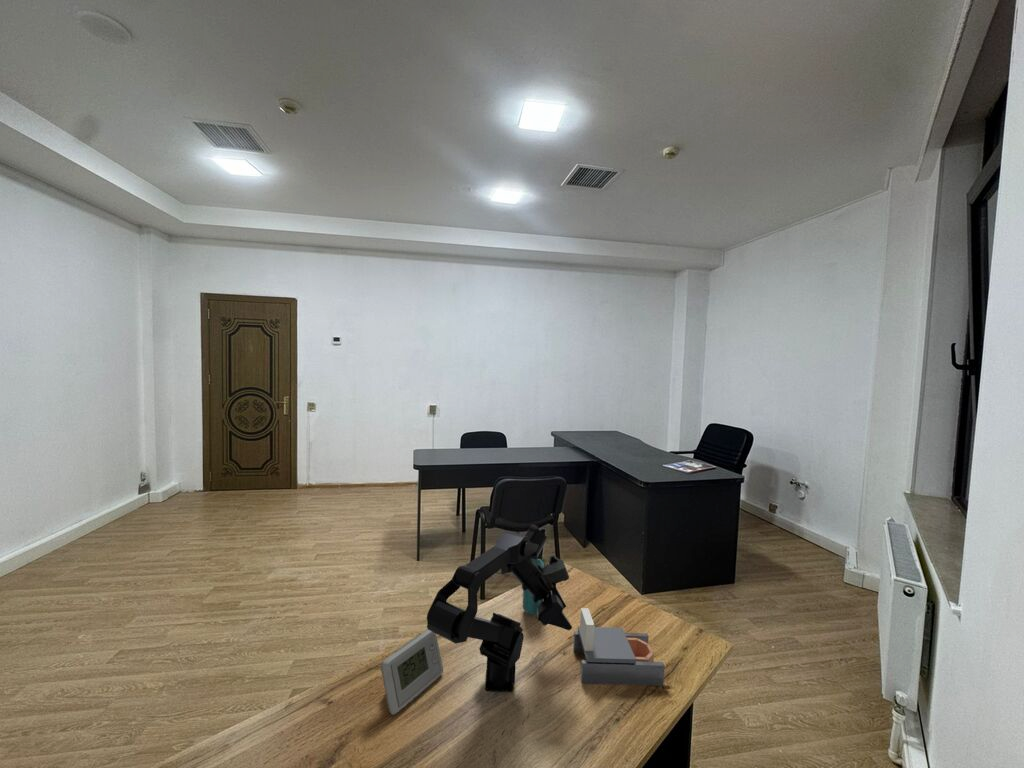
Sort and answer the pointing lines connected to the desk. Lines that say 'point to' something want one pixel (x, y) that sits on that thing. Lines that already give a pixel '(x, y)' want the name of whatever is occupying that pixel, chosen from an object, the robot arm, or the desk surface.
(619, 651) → the sliding lid
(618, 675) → the metal rails
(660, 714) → the desk surface
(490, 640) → the robot arm
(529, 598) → the beverage bottle
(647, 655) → the terracotta cup
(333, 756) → the desk surface
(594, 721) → the desk surface
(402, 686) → the digital clock
